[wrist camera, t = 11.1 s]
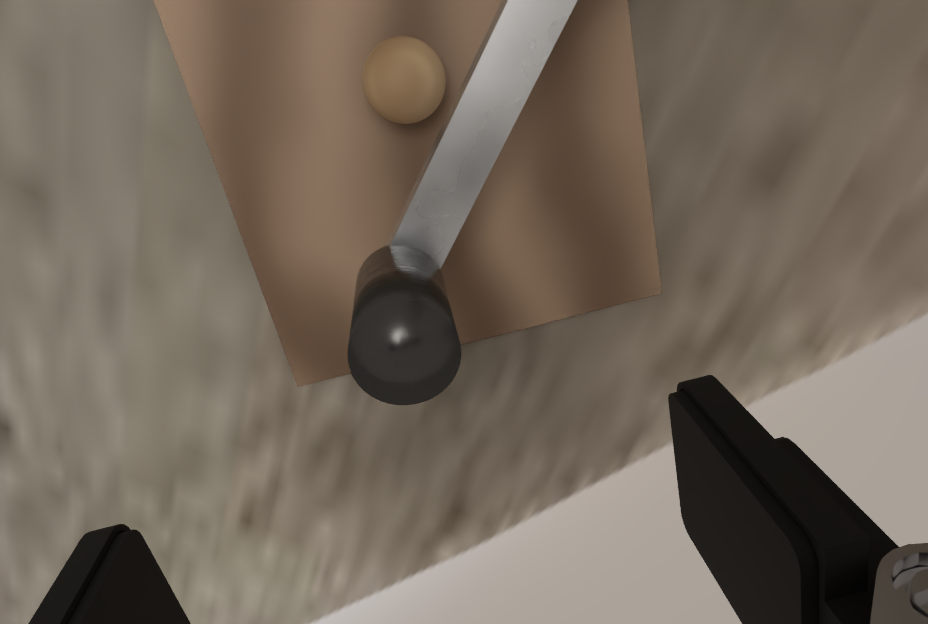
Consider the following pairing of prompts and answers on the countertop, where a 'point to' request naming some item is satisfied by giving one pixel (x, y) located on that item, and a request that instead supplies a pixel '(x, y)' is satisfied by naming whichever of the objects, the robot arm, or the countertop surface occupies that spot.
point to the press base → (416, 159)
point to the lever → (445, 214)
